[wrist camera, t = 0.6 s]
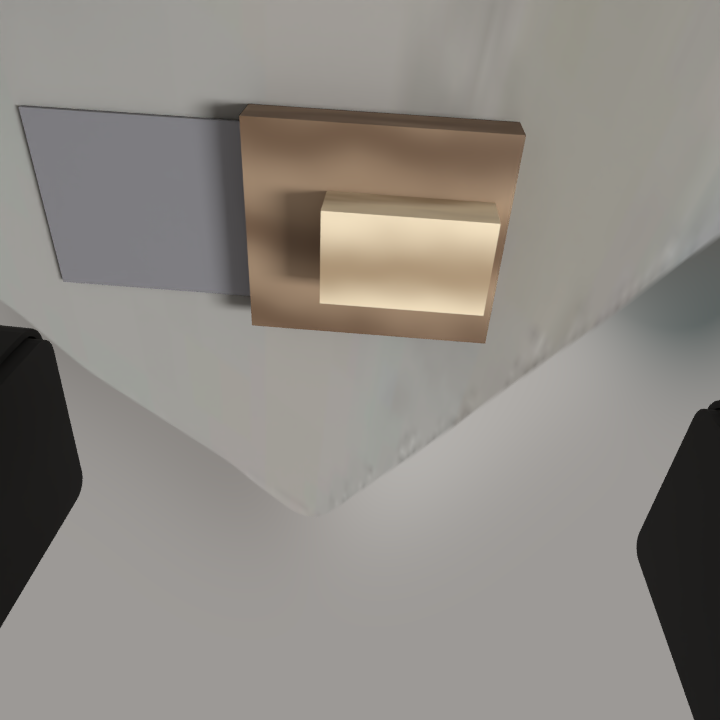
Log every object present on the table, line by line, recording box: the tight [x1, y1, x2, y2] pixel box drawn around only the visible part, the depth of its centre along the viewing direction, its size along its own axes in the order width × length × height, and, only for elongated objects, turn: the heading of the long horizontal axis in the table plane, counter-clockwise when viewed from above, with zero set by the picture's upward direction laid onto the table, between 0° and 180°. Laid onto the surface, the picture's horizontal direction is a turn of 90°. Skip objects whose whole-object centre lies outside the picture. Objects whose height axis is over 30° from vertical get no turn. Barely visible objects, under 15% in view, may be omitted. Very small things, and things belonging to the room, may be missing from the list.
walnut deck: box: [239, 104, 526, 343], centre depth 41 cm, size 14×16×2 cm
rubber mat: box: [19, 106, 250, 296], centre depth 42 cm, size 12×14×1 cm
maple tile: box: [320, 191, 501, 316], centre depth 39 cm, size 6×10×3 cm, turn 87°
